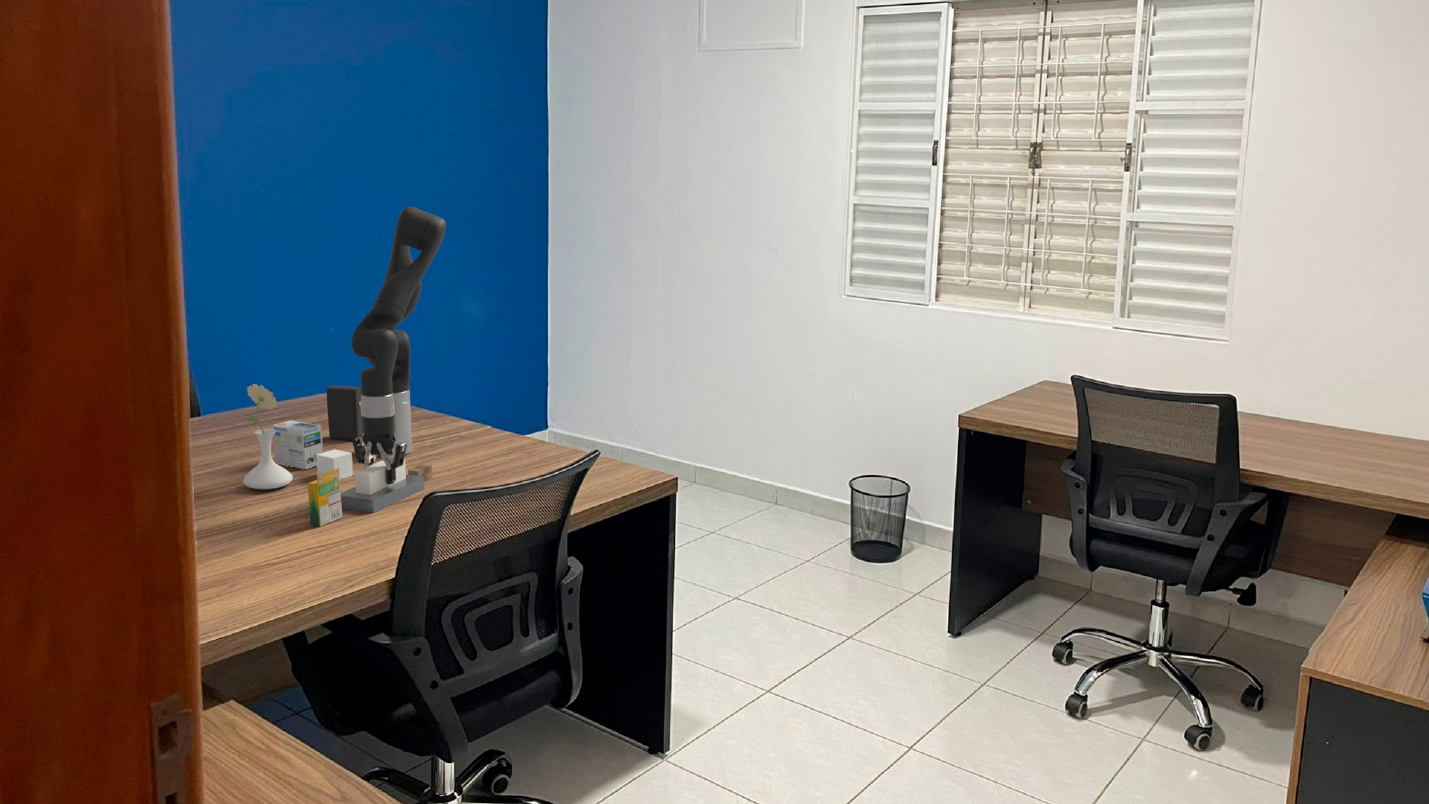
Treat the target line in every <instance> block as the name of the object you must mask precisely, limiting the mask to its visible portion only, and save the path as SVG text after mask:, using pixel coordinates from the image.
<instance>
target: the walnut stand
mask: <svg viewBox="0 0 1429 804" xmlns="http://www.w3.org/2000/svg"><path fill="white" fill-rule="evenodd" d="M407 475H413V476H421V477H424V482H426V481H428V480H430V479H432V478H433V465H432V464H428V463H427V464H426V463H421V464H418V465H416V466H413V467H411V468H409V469H407ZM429 478H430V479H429Z"/></svg>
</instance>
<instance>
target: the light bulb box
mask: <svg viewBox="0 0 1429 804" xmlns="http://www.w3.org/2000/svg"><path fill="white" fill-rule="evenodd" d="M272 429H273V430H276V432H275V433H274V435H273V444H274V446H273V447H274V456H275V458H274V459H275V463H281V464H285V465H288V466H294V467H298V468H301V469H300V470H304V469H307V470H309V468H310V469H312V467H313V468H315V467H314V466H316V467H317V458H316V455H317V454H321V453H324V447H323V431H322V430H323V429H322V424H316V423H311V422H305V421H304V422H303V421H295V420H292V419H291V420H287V421H283V422H281V423H276V424H273V425H272ZM288 466H287V467H288ZM298 468H297V469H298Z"/></svg>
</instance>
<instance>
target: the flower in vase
mask: <svg viewBox="0 0 1429 804" xmlns="http://www.w3.org/2000/svg"><path fill="white" fill-rule="evenodd" d="M246 389H247V395H248V397H250V398H251V400H252V401H253V402H254V404H256V405H257V406H256V407H255V408H256V409H255V414H254V415H255V416H254V415H252V414H249V415H248V418H247V421H248V422H252V423H254V424H256V425H257V424H258V426H259V428H260V429H257V430H255V431H253V434H254V435H255V437H256V438H257V440H258V442H259V447H260V453H261V456H260V461H259V463H258V464H257V465H256V466H255V467H254V468H252V469H251V470H250V471H249V472H248V473H246V475H245V476H244V477H243V480H242V484H243V485H244V486H245V487H247V488H250V489H253V490H272V489H278V488H282V487H284V486H286V485H289V484H290V483H291V482H292V481H293V479H294V478H293V477H294V476H293V475H292V473H291V472H290V471H289V470H287V469H285V467H284V466H282V465H278V464H276V461H274V459H273V457H272V456H273V455H272V442H273V441H272V440H273V438H274V433H275V432H276V430H273V428H263V426H265V425H266V424H269V422H271V421H272V420H273V418H270V419H269V420H266V421H264V422H263V423H262V424H261V423H260V421H259V419H258V410H259V407H261V408H263V409H265V410H267V409H268V410H270V411H271V410H274V409H277V408H278V406H277V403H278V402H277V400H276V399H277V398H276V397H275V396H273V395H274V393H273V392H272V391H269V389H267V388H265V387H264V386H263V385H261V384H260V386H259V385H258V384H256V383H254V384H252V386H251V385H249V386H248V387H246Z"/></svg>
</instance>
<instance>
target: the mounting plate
mask: <svg viewBox="0 0 1429 804" xmlns="http://www.w3.org/2000/svg"><path fill="white" fill-rule="evenodd" d="M424 489H425V481H424V477H421V476H413V475H408V474H406V479H404V480H402V481H400V482H397V483H395V484H393V485H391V486H389V487H386V488H384V489H382V490H380V491H378V492H375V493H373V494H371V495H368V494H361V493H356V488H355V486H354V487H352V488H350V489H347V490H344V491H342V492H341V506H342V509H345V508H346V510H354V511H358V512H359V511H360V512H366V513H367V512H368V513H373V514H374V513H377V512H378V511H381V510H382V509H385V508H387V507H390V506H391V505H394V504H395V503H398V502H400V501H401V500H404V499H405V498H407V497H409V496H412V495H413V494H415V493H418V492H420V491H422V490H424Z"/></svg>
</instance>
